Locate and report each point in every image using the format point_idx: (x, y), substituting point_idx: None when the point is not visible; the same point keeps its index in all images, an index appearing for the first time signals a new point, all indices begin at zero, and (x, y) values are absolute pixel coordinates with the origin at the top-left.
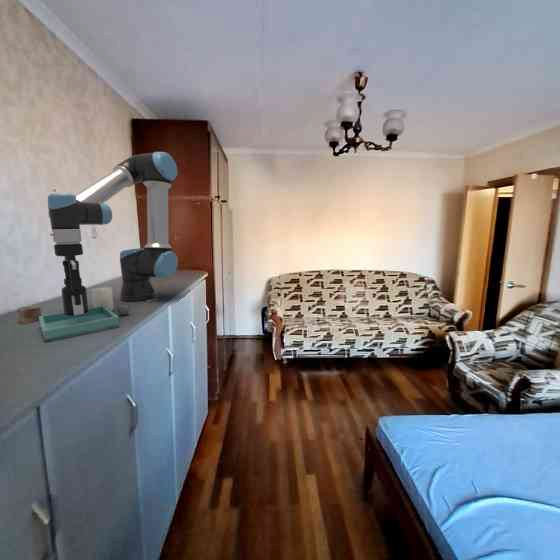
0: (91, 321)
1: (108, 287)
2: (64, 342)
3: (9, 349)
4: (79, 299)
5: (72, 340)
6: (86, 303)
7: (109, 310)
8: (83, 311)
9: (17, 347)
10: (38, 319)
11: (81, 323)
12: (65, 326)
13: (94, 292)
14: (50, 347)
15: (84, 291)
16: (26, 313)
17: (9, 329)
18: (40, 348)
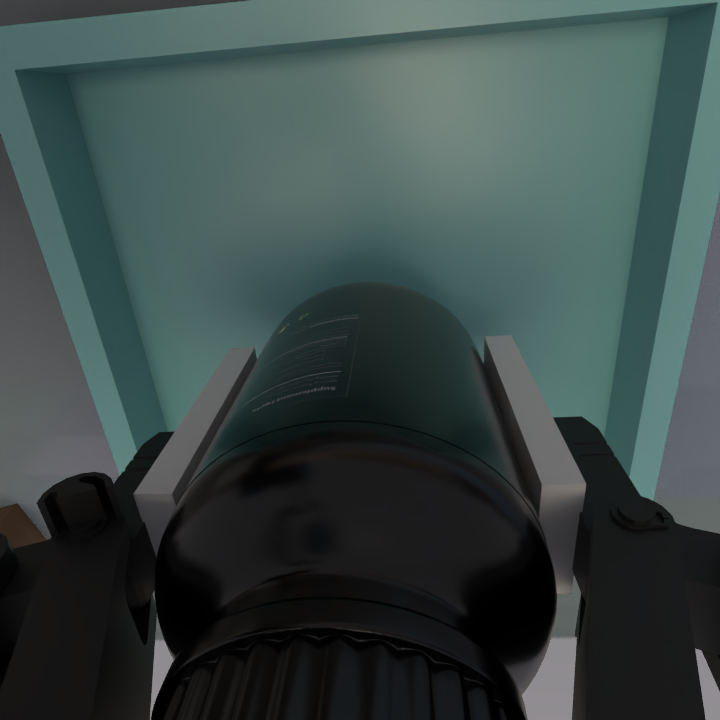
0: (679, 272)
1: None
2: (711, 427)
3: (571, 624)
4: (619, 474)
5: (716, 386)
6: (438, 334)
7: (303, 7)
8: (515, 349)
9: (568, 602)
10: (21, 527)
11: (663, 354)
12: (643, 460)
13: None
14: None
15: (480, 449)
16: None
17: (158, 625)
18: (701, 529)
